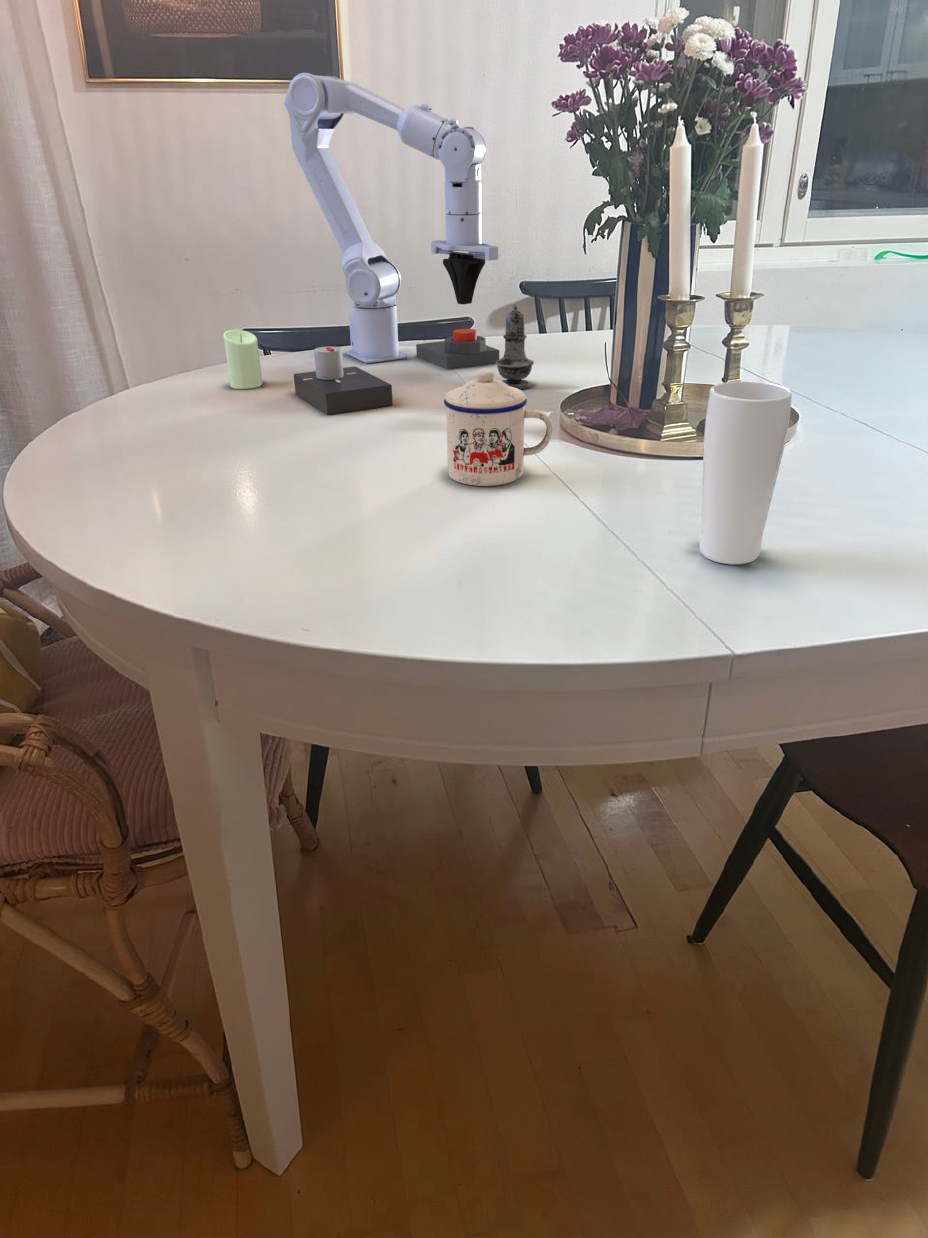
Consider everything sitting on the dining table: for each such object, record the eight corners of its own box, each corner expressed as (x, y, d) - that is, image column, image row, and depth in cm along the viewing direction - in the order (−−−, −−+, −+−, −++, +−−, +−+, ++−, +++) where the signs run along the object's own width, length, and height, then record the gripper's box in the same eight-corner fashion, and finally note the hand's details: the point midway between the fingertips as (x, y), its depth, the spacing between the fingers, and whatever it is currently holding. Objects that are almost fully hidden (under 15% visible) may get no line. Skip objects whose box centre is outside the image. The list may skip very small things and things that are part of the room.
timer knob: (312, 375, 134) (309, 346, 132) (337, 372, 136) (335, 343, 134) (321, 381, 131) (319, 350, 129) (347, 377, 133) (345, 347, 131)
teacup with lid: (443, 487, 99) (440, 381, 94) (447, 461, 107) (445, 362, 102) (552, 488, 99) (556, 380, 93) (549, 461, 107) (552, 361, 101)
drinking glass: (681, 542, 85) (698, 382, 78) (751, 538, 86) (774, 379, 79) (704, 572, 79) (724, 401, 72) (779, 568, 80) (807, 398, 73)
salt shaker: (534, 381, 142) (535, 301, 136) (532, 390, 137) (534, 307, 131) (496, 380, 143) (496, 301, 137) (494, 389, 137) (494, 307, 132)
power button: (449, 340, 153) (449, 330, 153) (469, 338, 155) (469, 327, 154) (460, 344, 150) (460, 333, 149) (481, 342, 152) (481, 331, 151)
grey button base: (416, 356, 159) (415, 333, 157) (466, 350, 163) (466, 327, 161) (448, 370, 150) (448, 345, 148) (500, 363, 154) (501, 339, 152)
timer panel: (294, 393, 137) (292, 372, 136) (356, 385, 141) (355, 364, 140) (326, 415, 126) (324, 392, 125) (392, 405, 130) (391, 383, 129)
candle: (269, 384, 142) (262, 331, 139) (242, 391, 139) (235, 336, 135) (250, 380, 145) (243, 327, 142) (223, 386, 142) (216, 332, 138)
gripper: (415, 212, 146) (418, 301, 152) (474, 217, 136) (475, 311, 143) (449, 210, 150) (450, 296, 156) (508, 214, 140) (507, 306, 147)
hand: (464, 303), depth 150 cm, fingers closed
